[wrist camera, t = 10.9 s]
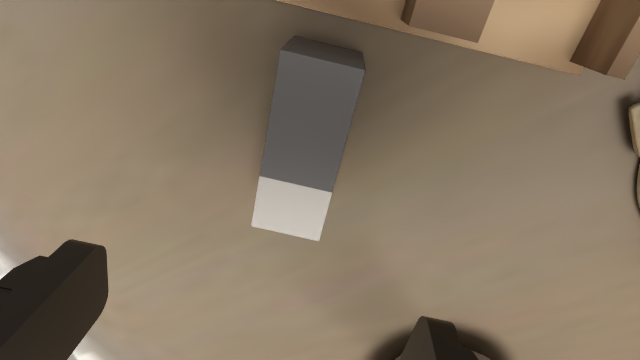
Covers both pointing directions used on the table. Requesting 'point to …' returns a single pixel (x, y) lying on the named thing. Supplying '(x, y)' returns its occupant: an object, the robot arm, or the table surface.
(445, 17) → the brown wooden divided tray
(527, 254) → the table surface
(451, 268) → the table surface
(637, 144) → the tableware set
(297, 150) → the two-tone square pillar
